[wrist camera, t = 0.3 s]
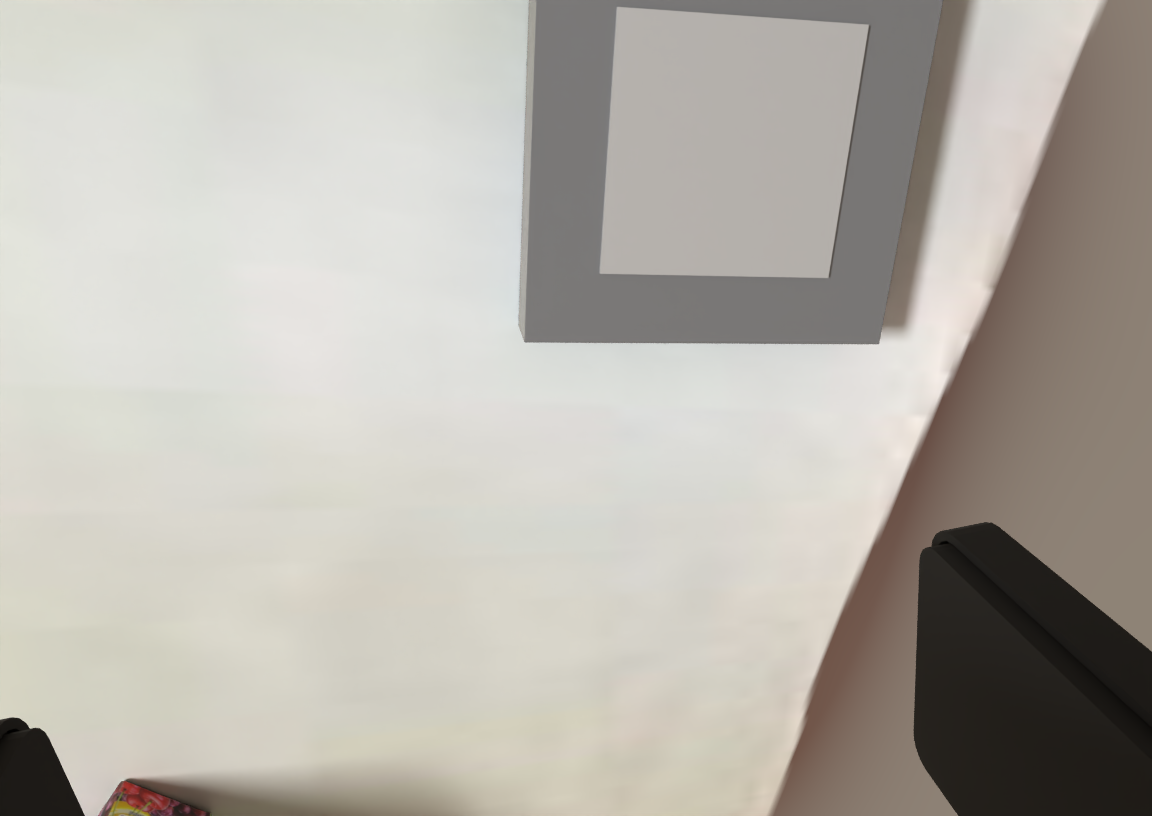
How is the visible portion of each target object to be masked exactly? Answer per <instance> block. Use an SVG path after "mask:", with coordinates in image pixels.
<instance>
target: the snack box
mask: <svg viewBox="0 0 1152 816" xmlns="http://www.w3.org/2000/svg"><path fill="white" fill-rule="evenodd" d="M98 816H212V814H211V812H204V811H201V810H199V809H196V808H193V807H191V806H189V805H185V804H183V803H181V802H178V801H175V800H173V799H170V798H167V797H165V796H162V795H159V794H157V793H154V792H152V791H150V790H147V789H145V788H142V787H140V786H137V785H135V784H132V783H130V782H127V781H122V782H121V783H120V784H119V785H118V787H117V788H116V790H115V791H114V792H113V794H112V795H111V797H110V799H109V800H108V802H107V803H106V804H105V806H104V807H103V809H102V810H101V812H100V813H99V815H98Z"/></svg>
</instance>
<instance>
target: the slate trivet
mask: <svg viewBox="0 0 1152 816" xmlns="http://www.w3.org/2000/svg"><path fill="white" fill-rule="evenodd" d="M942 4H943V0H529V15H528V46H527V77H526V108H525V140H524V171H523V202H522V234H521V265H520V296H519V328H520V331H521V334H522V337H523V340H524V342H560V343H748V344H879V341H880V336H881V330H882V325H883V319H884V314H885V309H886V303H887V298H888V293H889V287H890V282H891V277H892V271H893V266H894V261H895V255H896V250H897V245H898V239H899V234H900V229H901V223H902V218H903V212H904V207H905V202H906V196H907V191H908V186H909V180H910V175H911V170H912V164H913V159H914V154H915V148H916V143H917V138H918V132H919V127H920V122H921V116H922V111H923V105H924V100H925V95H926V89H927V84H928V79H929V73H930V68H931V63H932V57H933V52H934V47H935V41H936V36H937V31H938V25H939V20H940V14H941V9H942Z"/></svg>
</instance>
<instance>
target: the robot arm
mask: <svg viewBox="0 0 1152 816" xmlns="http://www.w3.org/2000/svg"><path fill="white" fill-rule="evenodd" d="M914 709H915V711H914V741H915V745H916V749H917V752H918V755H919V757H920V760H921V762H922V764H923V765H924V767H925V769H926V770H927V772H928V773H929V775H930V776H931V777H932V779H933V780H934V782H935V783H936V785H937V786H938V787H939V789H940V790H941V792H942V793H943V795H944V796H945V797H946V799H947V800H948V802H949V803H950V805H951V806H952V807H953V809H954V810H955V812H956V813H957V814H958V816H1152V652H1151V651H1150V650H1149V649H1148V648H1146V647H1145V646H1144V645H1143V644H1142V643H1140V642H1139V641H1138V640H1137V639H1135V638H1134V637H1133V636H1132V635H1131V634H1129V633H1128V632H1127V631H1126V630H1125V629H1123V628H1122V627H1121V626H1120V625H1118V624H1117V623H1116V622H1115V621H1113V620H1112V619H1111V618H1110V617H1109V616H1107V615H1106V614H1105V613H1104V612H1102V611H1101V610H1100V609H1099V608H1098V607H1096V606H1095V605H1094V604H1093V603H1091V602H1090V601H1089V600H1088V599H1087V598H1085V597H1084V596H1083V595H1082V594H1080V593H1079V592H1078V591H1077V590H1076V589H1074V588H1073V587H1072V586H1071V585H1069V584H1068V583H1067V582H1066V581H1064V580H1063V579H1062V578H1061V577H1059V576H1058V575H1057V574H1056V573H1055V572H1053V571H1052V570H1051V569H1050V568H1048V567H1047V566H1046V565H1045V564H1044V563H1042V562H1041V561H1040V560H1039V559H1038V558H1036V557H1035V556H1034V555H1033V554H1031V553H1030V552H1029V551H1028V550H1026V549H1025V548H1024V547H1023V546H1022V545H1020V544H1019V543H1018V542H1017V541H1016V540H1014V539H1013V538H1012V537H1011V536H1009V535H1008V534H1007V533H1006V532H1005V531H1003V530H1002V529H1001V528H1000V527H998V526H996V525H995V524H993V523H987V522H984V523H979V524H974V525H969V526H964V527H960V528H955V529H950V530H945V531H940V532H939V533H937V534H936V535H935V537H934V539H933V541H932V547H928V548H925V549H923V551H922V553H921V555H920V564H919V593H918V621H917V650H916V681H915V708H914ZM0 816H85V815H84V813H83V811H82V809H81V807H80V804H79V802H78V800H77V798H76V796H75V794H74V791H73V789H72V787H71V785H70V783H69V781H68V778H67V776H66V774H65V772H64V770H63V768H62V766H61V763H60V761H59V759H58V757H57V755H56V753H55V750H54V748H53V746H52V744H51V742H50V740H49V738H48V736H47V735H46V733H45V732H44V731H43V730H41V729H40V728H32V729H30V728H29V727H28V725H27V724H26V723H25V722H24V721H22V720H21V719H20V718H7V719H2V720H0Z"/></svg>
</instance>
